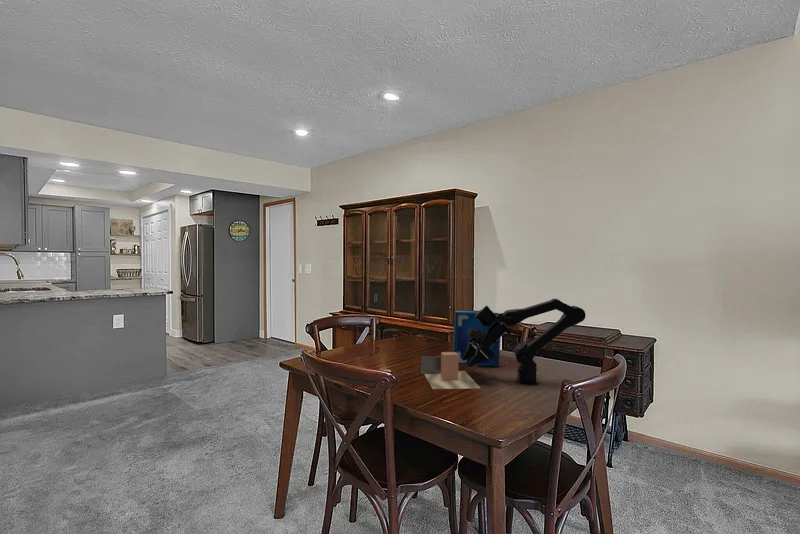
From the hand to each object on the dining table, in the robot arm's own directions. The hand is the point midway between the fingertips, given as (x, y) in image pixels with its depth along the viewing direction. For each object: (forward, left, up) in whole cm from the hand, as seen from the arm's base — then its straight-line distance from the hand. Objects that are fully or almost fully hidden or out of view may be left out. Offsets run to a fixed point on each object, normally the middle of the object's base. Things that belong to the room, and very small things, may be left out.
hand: (465, 362), depth 169 cm
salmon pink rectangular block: (+7, 0, -6) cm, 9 cm away
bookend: (+11, -8, -6) cm, 14 cm away
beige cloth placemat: (+7, +1, -7) cm, 10 cm away
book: (-11, -24, -8) cm, 28 cm away
